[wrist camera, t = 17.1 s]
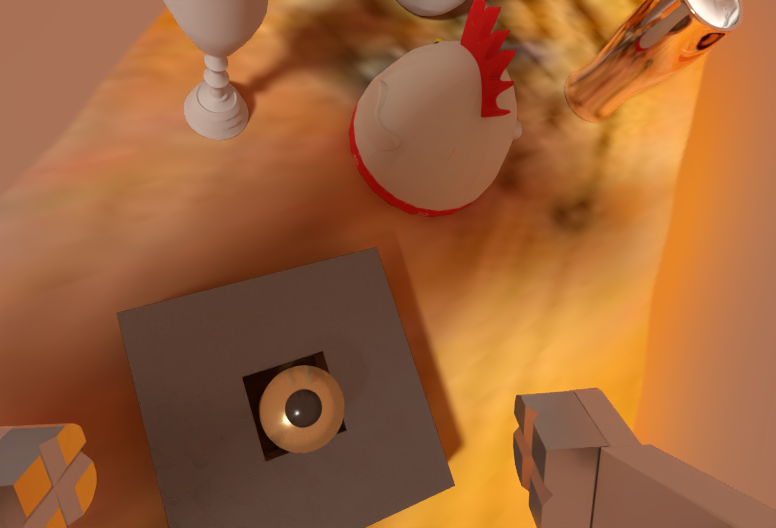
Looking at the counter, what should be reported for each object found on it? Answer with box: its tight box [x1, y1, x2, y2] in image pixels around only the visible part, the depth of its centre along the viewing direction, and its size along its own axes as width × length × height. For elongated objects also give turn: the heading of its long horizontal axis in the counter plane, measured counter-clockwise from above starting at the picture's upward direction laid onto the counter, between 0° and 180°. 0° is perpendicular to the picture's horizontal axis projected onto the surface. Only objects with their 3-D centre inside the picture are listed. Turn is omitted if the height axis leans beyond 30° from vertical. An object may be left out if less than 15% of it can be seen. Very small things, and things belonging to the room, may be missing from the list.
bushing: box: [258, 365, 345, 453], centre depth 34 cm, size 5×5×8 cm
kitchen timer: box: [349, 0, 522, 217], centre depth 40 cm, size 14×14×15 cm
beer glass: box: [565, 0, 743, 122], centre depth 48 cm, size 7×7×15 cm
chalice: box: [164, 0, 268, 140], centre depth 33 cm, size 7×7×18 cm
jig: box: [117, 247, 455, 528], centre depth 36 cm, size 18×18×4 cm
